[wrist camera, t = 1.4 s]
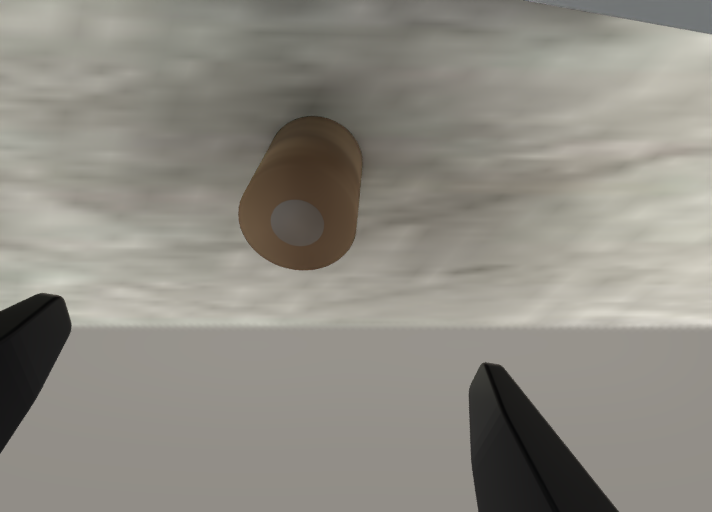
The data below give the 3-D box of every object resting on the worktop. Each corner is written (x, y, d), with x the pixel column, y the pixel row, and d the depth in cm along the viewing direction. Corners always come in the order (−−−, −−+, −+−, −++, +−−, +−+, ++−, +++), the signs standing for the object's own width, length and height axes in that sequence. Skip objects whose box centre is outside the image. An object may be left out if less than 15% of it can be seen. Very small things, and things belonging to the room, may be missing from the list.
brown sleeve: (268, 196, 20) (238, 262, 16) (271, 108, 18) (237, 159, 14) (355, 209, 20) (347, 278, 16) (369, 124, 18) (365, 179, 14)
